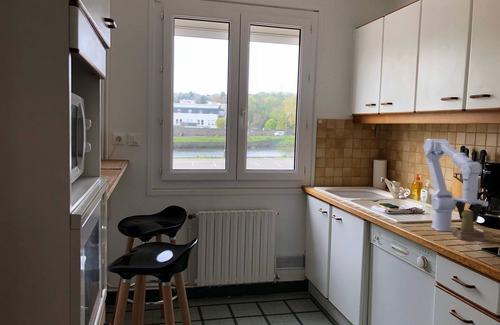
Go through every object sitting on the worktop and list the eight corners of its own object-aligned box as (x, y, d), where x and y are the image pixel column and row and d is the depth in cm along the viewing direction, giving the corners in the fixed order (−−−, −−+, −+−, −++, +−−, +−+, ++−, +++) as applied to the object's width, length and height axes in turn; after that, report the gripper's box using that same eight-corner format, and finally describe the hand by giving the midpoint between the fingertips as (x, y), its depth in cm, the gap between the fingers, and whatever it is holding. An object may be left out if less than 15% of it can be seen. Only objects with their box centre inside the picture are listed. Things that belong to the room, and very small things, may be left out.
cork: (470, 234, 191) (472, 209, 191) (477, 237, 185) (478, 212, 185) (456, 233, 192) (458, 209, 191) (462, 236, 186) (464, 211, 185)
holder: (451, 234, 194) (452, 227, 194) (473, 235, 194) (473, 227, 193) (460, 240, 185) (461, 232, 184) (483, 240, 184) (484, 232, 184)
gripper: (449, 188, 190) (447, 218, 191) (484, 192, 180) (482, 224, 181) (456, 187, 195) (454, 216, 196) (490, 190, 184) (488, 221, 185)
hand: (468, 220), depth 189 cm, fingers closed on cork, 5 cm apart
